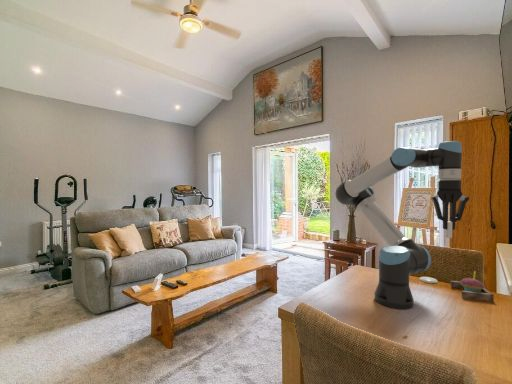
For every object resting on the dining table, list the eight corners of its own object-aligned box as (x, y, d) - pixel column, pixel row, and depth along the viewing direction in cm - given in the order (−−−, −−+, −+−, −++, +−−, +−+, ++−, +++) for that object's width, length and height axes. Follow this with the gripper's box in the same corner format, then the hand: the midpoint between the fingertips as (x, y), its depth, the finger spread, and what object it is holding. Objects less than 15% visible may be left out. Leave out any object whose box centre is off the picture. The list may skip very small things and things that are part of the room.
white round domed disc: (421, 282, 136) (421, 280, 136) (417, 277, 144) (417, 276, 144) (439, 284, 134) (439, 282, 134) (434, 279, 141) (434, 277, 141)
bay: (462, 298, 117) (462, 291, 117) (450, 286, 131) (450, 280, 131) (493, 301, 114) (493, 294, 113) (477, 289, 127) (477, 283, 127)
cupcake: (488, 297, 118) (489, 271, 117) (469, 297, 118) (469, 271, 118) (473, 290, 126) (473, 265, 126) (455, 290, 126) (455, 265, 126)
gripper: (433, 179, 105) (433, 238, 105) (473, 179, 101) (472, 240, 101) (428, 180, 112) (427, 234, 112) (464, 179, 108) (463, 236, 108)
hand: (448, 237), depth 107 cm, fingers closed
